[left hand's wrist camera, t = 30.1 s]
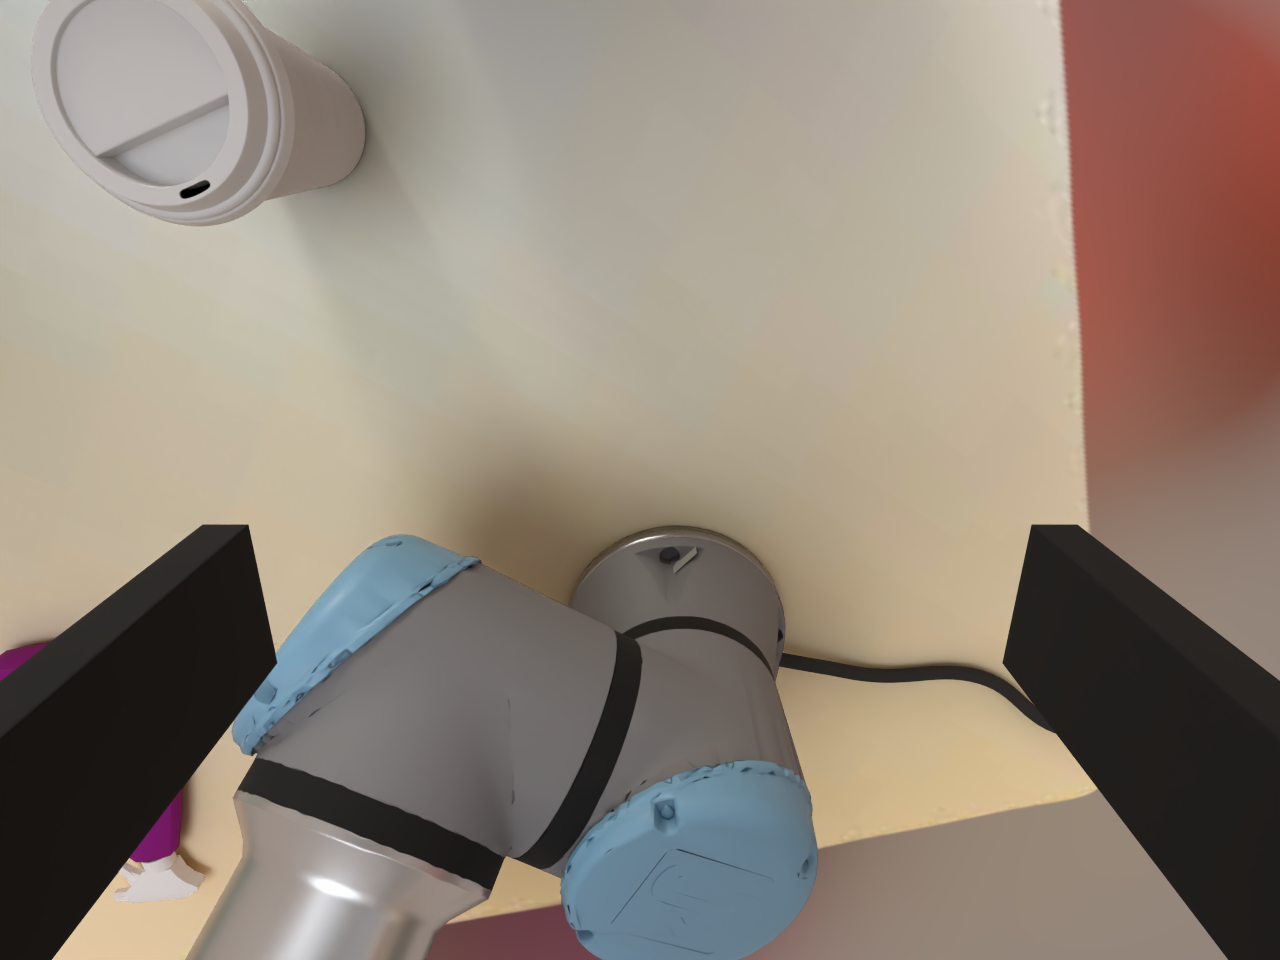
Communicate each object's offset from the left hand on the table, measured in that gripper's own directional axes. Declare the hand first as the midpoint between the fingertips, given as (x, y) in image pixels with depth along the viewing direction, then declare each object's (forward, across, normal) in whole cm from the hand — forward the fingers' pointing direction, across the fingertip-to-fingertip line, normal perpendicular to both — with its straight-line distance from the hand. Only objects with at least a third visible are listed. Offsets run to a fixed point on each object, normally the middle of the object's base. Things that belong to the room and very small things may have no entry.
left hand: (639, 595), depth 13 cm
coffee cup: (+35, +19, -10) cm, 41 cm away
